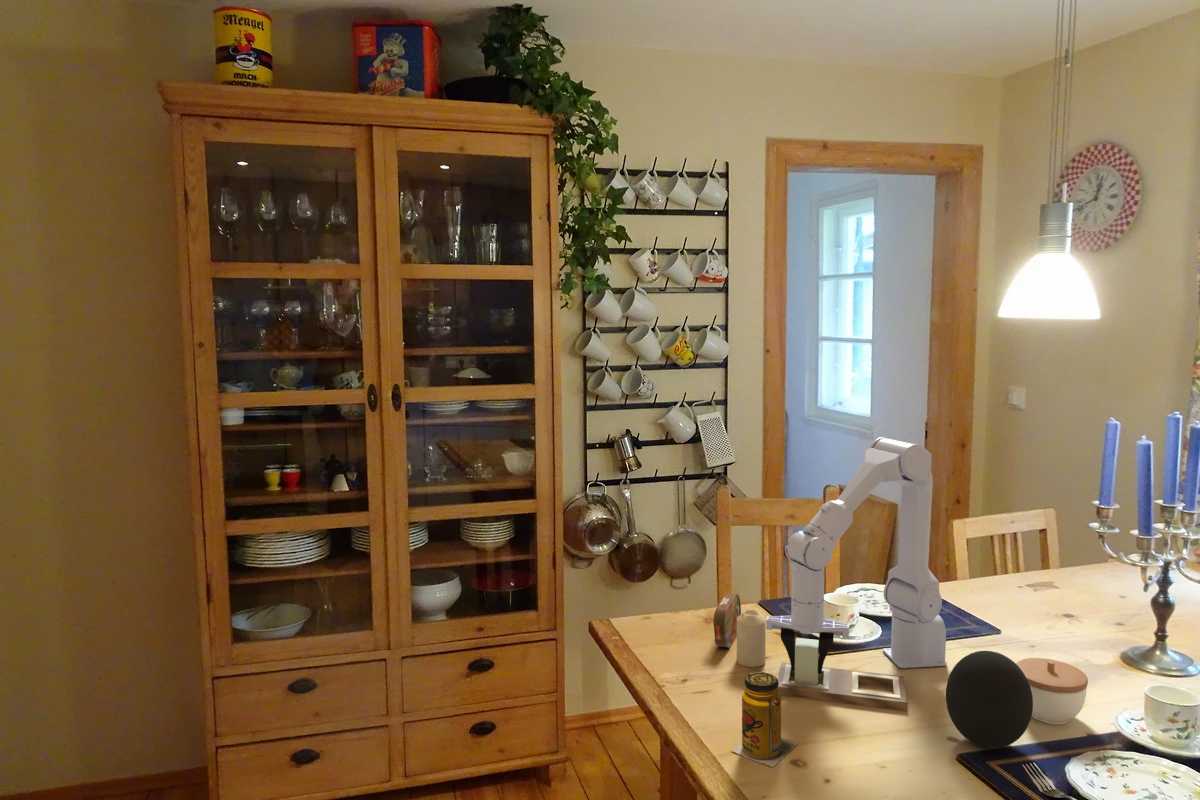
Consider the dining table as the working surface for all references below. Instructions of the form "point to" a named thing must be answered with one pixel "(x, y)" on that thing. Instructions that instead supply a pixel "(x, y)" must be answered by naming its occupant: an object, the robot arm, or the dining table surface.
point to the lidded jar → (1054, 689)
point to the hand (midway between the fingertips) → (806, 669)
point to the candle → (751, 639)
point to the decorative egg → (989, 699)
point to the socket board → (846, 687)
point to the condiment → (762, 720)
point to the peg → (806, 661)
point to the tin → (726, 620)
